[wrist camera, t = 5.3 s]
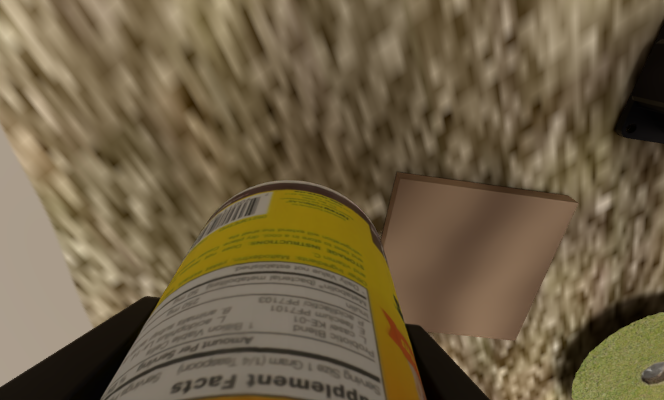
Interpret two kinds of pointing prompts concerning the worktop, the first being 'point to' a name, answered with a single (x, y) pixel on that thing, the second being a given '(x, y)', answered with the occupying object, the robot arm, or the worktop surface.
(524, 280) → the walnut board
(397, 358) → the supplement bottle
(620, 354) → the yellow-green flat disc
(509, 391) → the worktop surface
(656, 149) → the worktop surface
